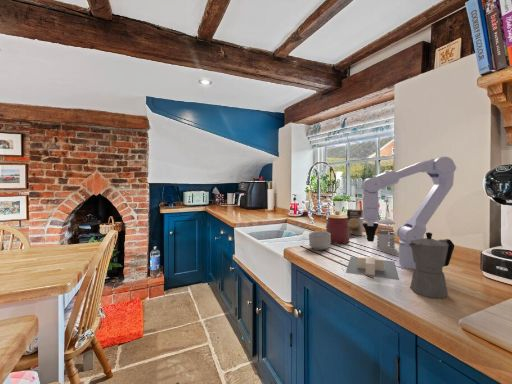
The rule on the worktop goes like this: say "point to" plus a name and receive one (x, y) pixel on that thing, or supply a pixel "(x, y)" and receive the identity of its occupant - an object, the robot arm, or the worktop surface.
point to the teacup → (319, 240)
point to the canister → (338, 227)
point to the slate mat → (388, 272)
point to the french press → (386, 236)
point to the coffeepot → (430, 266)
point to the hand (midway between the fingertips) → (370, 241)
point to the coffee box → (355, 221)
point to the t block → (370, 264)
